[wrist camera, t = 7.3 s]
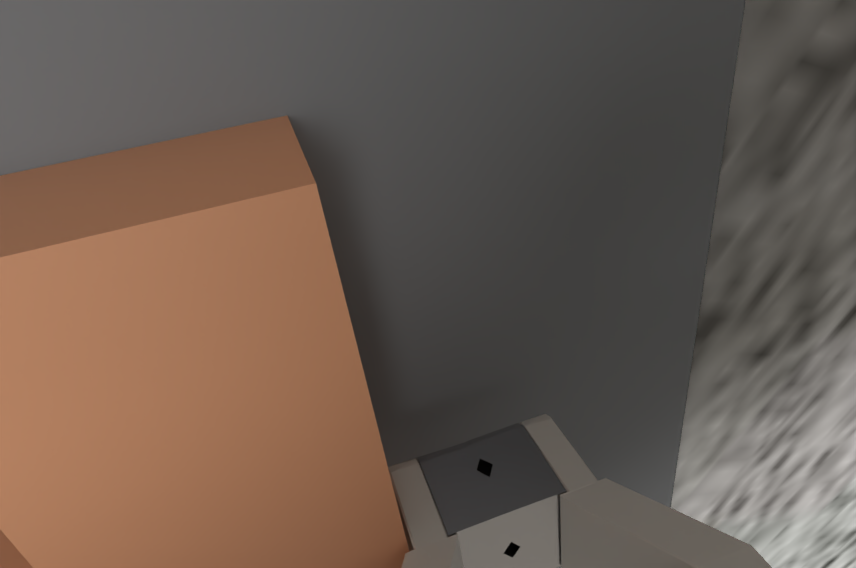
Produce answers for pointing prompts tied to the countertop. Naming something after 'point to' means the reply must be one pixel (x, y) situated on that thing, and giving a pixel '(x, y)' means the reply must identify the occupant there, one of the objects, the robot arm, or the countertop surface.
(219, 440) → the t block
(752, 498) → the countertop surface
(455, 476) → the robot arm
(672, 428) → the board
